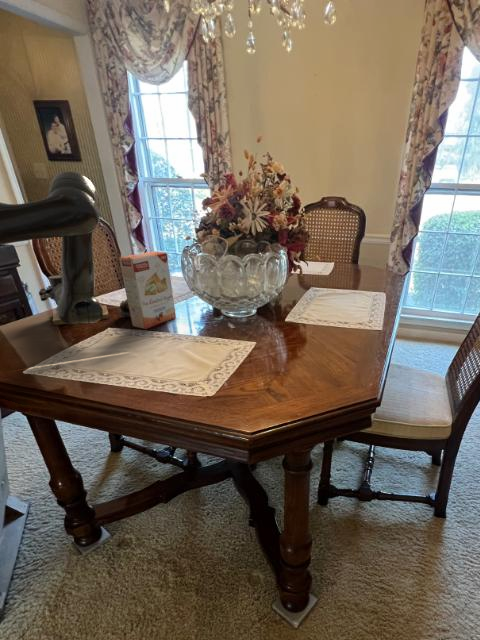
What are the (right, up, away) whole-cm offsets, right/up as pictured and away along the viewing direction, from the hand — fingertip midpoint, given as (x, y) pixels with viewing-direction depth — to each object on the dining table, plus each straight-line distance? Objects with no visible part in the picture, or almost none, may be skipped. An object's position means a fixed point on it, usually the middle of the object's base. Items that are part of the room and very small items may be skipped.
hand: (59, 287), depth 125 cm
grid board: (+6, -9, +2) cm, 11 cm away
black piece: (+2, -6, +1) cm, 7 cm away
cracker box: (+33, -12, -3) cm, 35 cm away
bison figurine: (+25, -10, +2) cm, 27 cm away
